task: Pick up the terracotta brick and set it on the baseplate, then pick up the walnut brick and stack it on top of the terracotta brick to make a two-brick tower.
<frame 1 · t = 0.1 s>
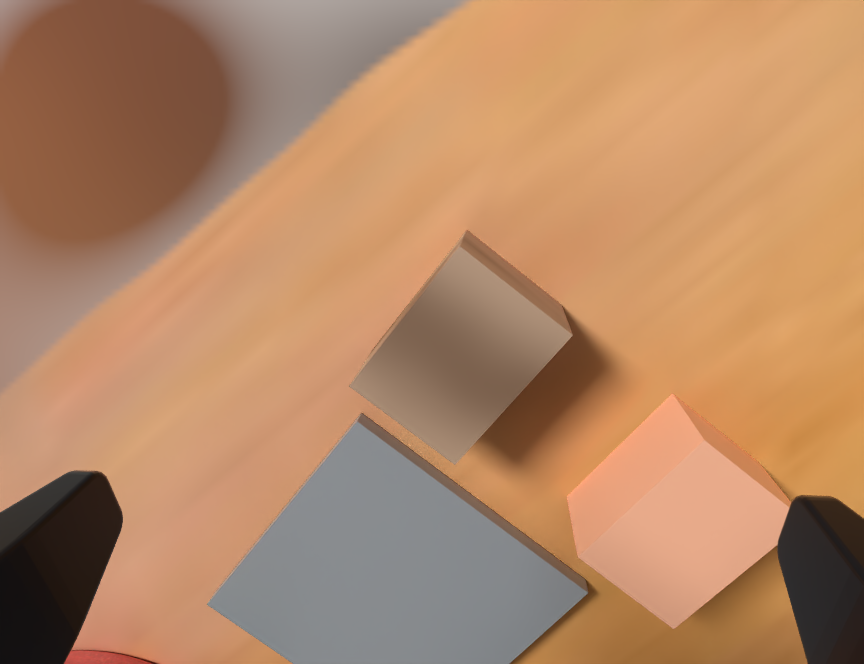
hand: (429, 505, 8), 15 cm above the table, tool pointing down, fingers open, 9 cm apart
walnut brick: (464, 326, 23), on the table
terracotta brick: (659, 478, 24), on the table
baseplate: (392, 586, 27), on the table
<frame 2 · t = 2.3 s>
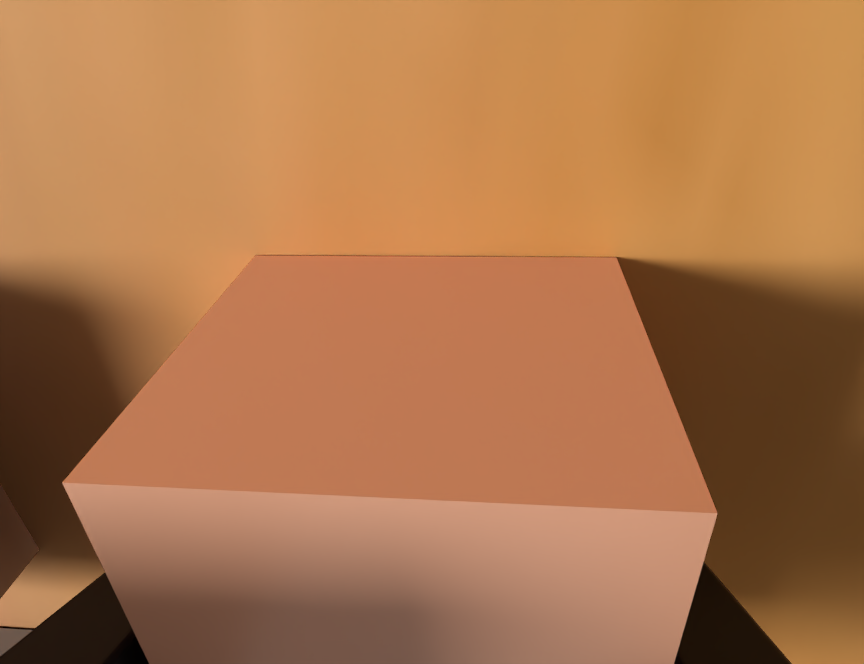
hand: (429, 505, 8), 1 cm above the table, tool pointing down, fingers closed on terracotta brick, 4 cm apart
terracotta brick: (438, 441, 9), on the table, touching gripper
when the fingers open (3 cm above the table, at t = 6.2 s): terracotta brick drops 1 cm, resting on baseplate.
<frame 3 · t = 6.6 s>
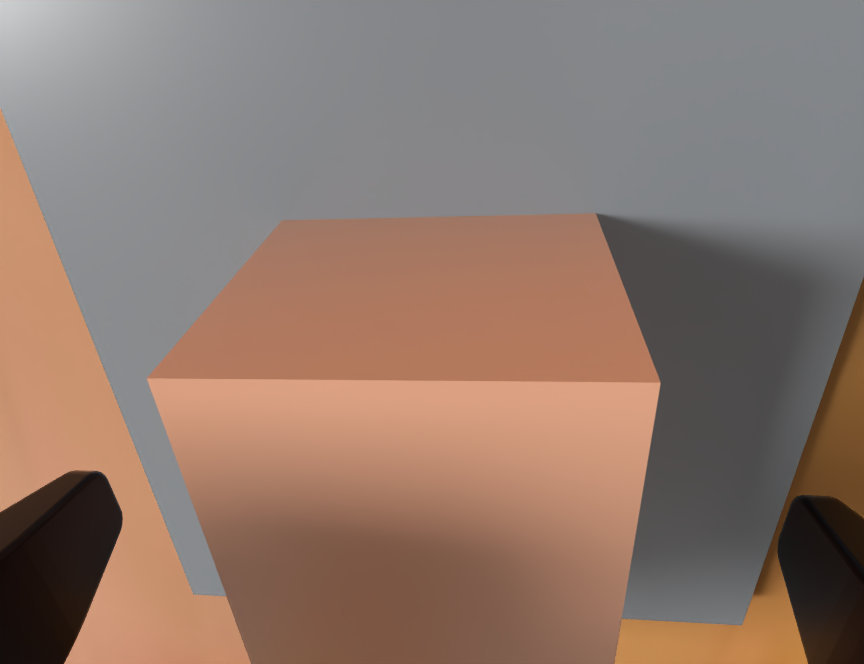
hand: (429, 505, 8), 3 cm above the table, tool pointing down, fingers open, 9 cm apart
terracotta brick: (444, 387, 10), point 1 cm above the table, touching baseplate
baseplate: (446, 360, 11), on the table
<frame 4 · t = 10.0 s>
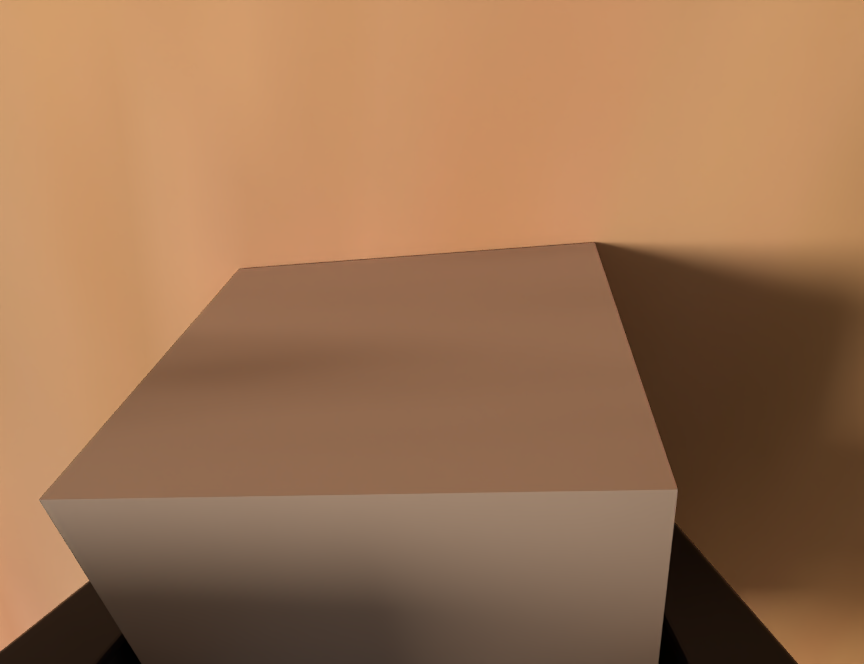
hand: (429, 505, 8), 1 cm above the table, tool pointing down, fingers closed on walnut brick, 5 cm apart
walnut brick: (437, 440, 9), on the table, touching gripper
when the fingers open (7 cm above the table, at t = 12.9 s): walnut brick drops 1 cm, resting on terracotta brick.
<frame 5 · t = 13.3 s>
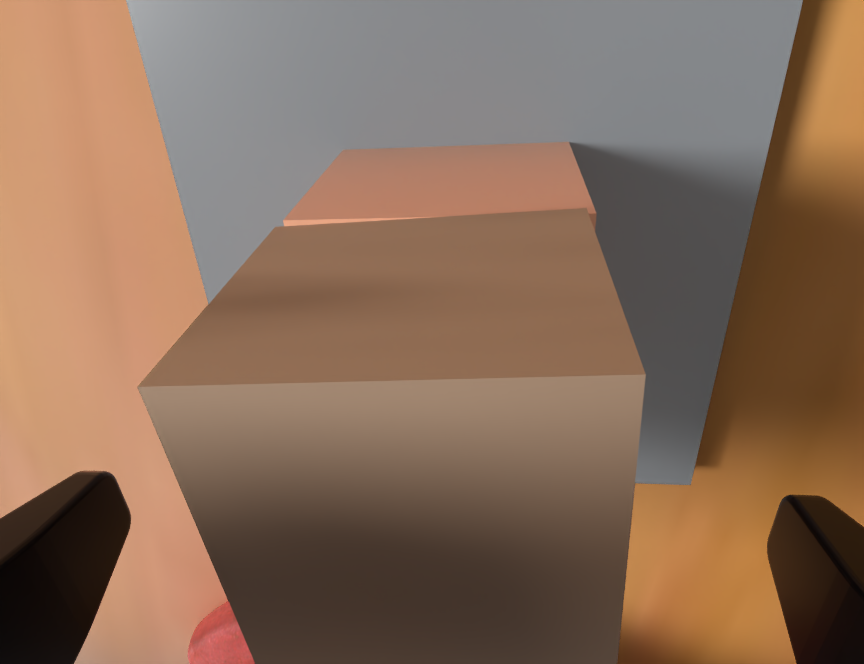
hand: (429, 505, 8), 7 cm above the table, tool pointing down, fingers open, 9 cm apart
walnut brick: (443, 387, 10), point 5 cm above the table, touching terracotta brick
terracotta brick: (458, 281, 14), point 1 cm above the table, touching baseplate, walnut brick
baseplate: (459, 266, 14), on the table
stacking bear: (366, 646, 23), on the table
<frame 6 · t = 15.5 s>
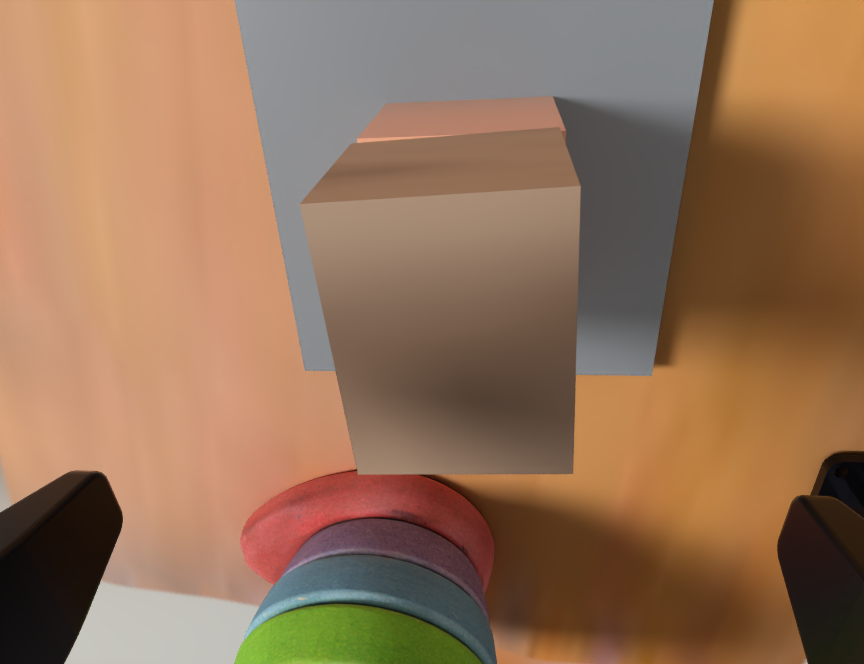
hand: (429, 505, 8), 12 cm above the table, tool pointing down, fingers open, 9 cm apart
walnut brick: (463, 263, 15), point 5 cm above the table, touching terracotta brick
terracotta brick: (471, 206, 18), point 1 cm above the table, touching baseplate, walnut brick
baseplate: (471, 197, 19), on the table
stacking bear: (388, 540, 27), on the table
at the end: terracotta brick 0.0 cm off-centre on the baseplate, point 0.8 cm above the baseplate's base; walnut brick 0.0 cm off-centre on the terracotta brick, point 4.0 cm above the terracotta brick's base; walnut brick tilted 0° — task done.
